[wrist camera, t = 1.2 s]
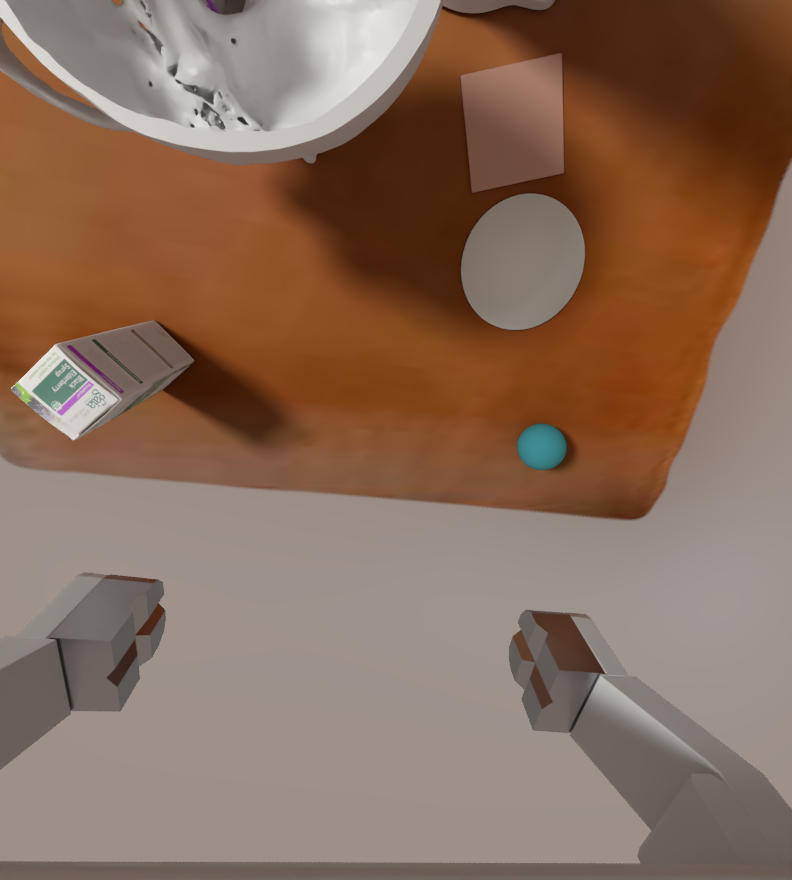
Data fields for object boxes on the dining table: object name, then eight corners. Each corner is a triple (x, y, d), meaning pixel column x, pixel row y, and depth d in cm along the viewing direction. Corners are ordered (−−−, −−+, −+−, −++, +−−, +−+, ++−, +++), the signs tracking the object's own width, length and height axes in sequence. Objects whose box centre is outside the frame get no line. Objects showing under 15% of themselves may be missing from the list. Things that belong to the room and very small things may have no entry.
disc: (529, 160, 37) (530, 160, 37) (608, 261, 41) (609, 261, 41) (435, 270, 41) (435, 270, 41) (516, 354, 45) (516, 354, 44)
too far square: (460, 76, 35) (460, 75, 34) (561, 53, 34) (562, 52, 34) (471, 193, 38) (472, 192, 38) (563, 173, 38) (564, 172, 38)
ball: (535, 408, 47) (554, 424, 42) (563, 435, 49) (585, 454, 44) (502, 440, 49) (516, 459, 44) (530, 465, 50) (547, 487, 45)
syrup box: (154, 317, 41) (49, 338, 28) (198, 361, 43) (119, 401, 30) (119, 351, 42) (2, 387, 29) (163, 392, 44) (73, 444, 31)
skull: (417, -47, 31) (505, -696, 10) (412, 220, 39) (458, 157, 18) (96, -62, 30) (-543, -833, 9) (153, 217, 38) (-127, 145, 17)
